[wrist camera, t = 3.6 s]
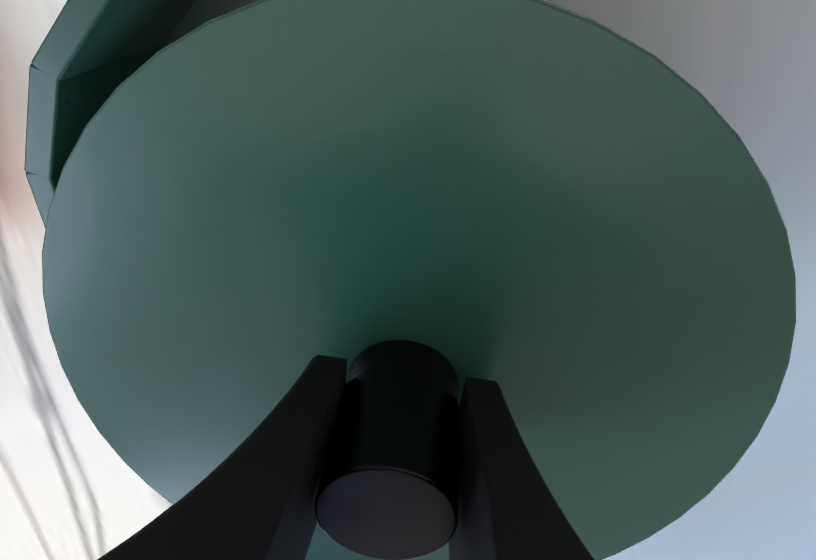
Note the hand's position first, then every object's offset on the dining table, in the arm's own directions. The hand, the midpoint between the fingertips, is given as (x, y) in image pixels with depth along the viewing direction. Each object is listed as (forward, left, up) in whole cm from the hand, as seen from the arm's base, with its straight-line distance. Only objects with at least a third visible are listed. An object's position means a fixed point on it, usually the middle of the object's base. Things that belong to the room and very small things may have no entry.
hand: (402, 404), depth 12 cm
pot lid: (0, 0, -1) cm, 1 cm away
